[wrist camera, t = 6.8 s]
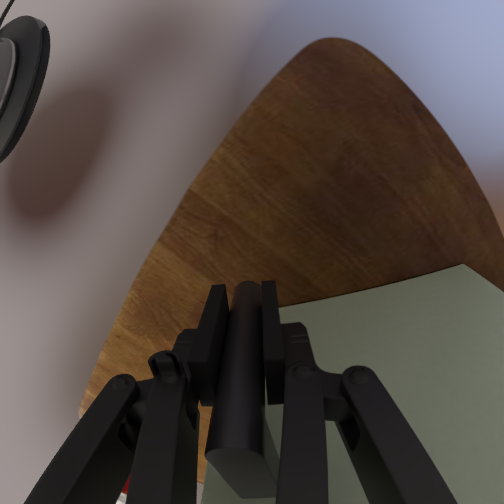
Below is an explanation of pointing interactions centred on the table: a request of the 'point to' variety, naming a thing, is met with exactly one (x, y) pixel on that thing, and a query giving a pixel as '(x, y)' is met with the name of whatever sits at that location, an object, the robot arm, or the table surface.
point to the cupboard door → (390, 374)
